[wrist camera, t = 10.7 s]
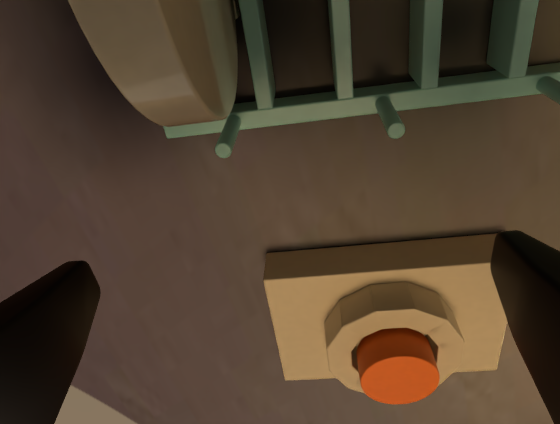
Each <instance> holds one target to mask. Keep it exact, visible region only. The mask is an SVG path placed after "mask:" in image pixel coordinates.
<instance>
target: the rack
mask: <svg viewBox="0 0 560 424" xmlns="http://www.w3.org/2000/svg"><path fill="white" fill-rule="evenodd" d="M538 2H539V0H494V3H493V11H492V19H491V27H490V35H489V44H488V52H487V60H486V63H487V64H488V65H490V66H491V67H493V68H494V69H496V70H497V71H489V72H481V73H473V74H465V75H457V76H449V77H442V78H438V75H439V59H440V43H441V27H442V11H443V0H410V24H409V66H408V73H409V74H410V76H411V77H412V78H413V79H414V81H410V82H402V83H394V84H387V85H379V86H371V87H363V88H355V89H353V71H352V50H351V29H350V8H349V0H328V11H329V25H330V39H331V53H332V67H333V81H334V86H335V90H336V91H332V92H324V93H316V94H308V95H300V96H292V97H285V98H277V99H274V98H275V92H276V87H275V80H274V73H273V66H272V60H271V53H270V46H269V39H268V32H267V26H266V19H265V12H264V5H263V0H239V6H240V12H241V18H242V23H243V29H244V35H245V40H246V46H247V52H248V57H249V63H250V69H251V74H252V80H253V86H254V91H255V97H256V101H253V102H245V103H237V104H234V105H233V108H232V111H231V113H230V114H229V116H228V117H227V118H225V119H224V120H220V121H213V122H205V123H197V124H189V125H181V126H172V127H166V126H163V127H164V131H165V134H166V137H167V138H168V139H169V138H177V137H186V136H194V135H202V134H211V133H219V132H221V135H220V137H219V139H218V142H217V144H216V147H215V152H216V154H217V155H218V156H219V157H221V158H227V157H229V156H230V155H231V153H232V150H233V147H234V144H235V141H236V138H237V135H238V132H239V130H244V129H252V128H261V127H269V126H277V125H286V124H294V123H302V122H311V121H319V120H327V119H336V118H344V117H352V116H361V115H369V114H377V113H378V114H379V116H380V118H381V120H382V123H383V125H384V127H385V129H386V132H387V134H388V136H389V137H391V138H393V139H397V138H400V137H401V136H403V134H404V133H405V126H404V124H403V122H402V121H401V119H400V117H399V115H398V114H397V112H396V111H402V110H411V109H419V108H427V107H436V106H444V105H452V104H461V103H469V102H478V101H486V100H494V99H503V98H511V97H519V96H528V95H536V94H544V95H546V96H547V97H549V98H550V99H552V100H554V101H555V102H557V103H558V104H560V62H559V63H551V64H544V65H536V66H528V67H527V65H528V59H529V53H530V48H531V42H532V36H533V30H534V25H535V19H536V13H537V7H538Z"/></svg>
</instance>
